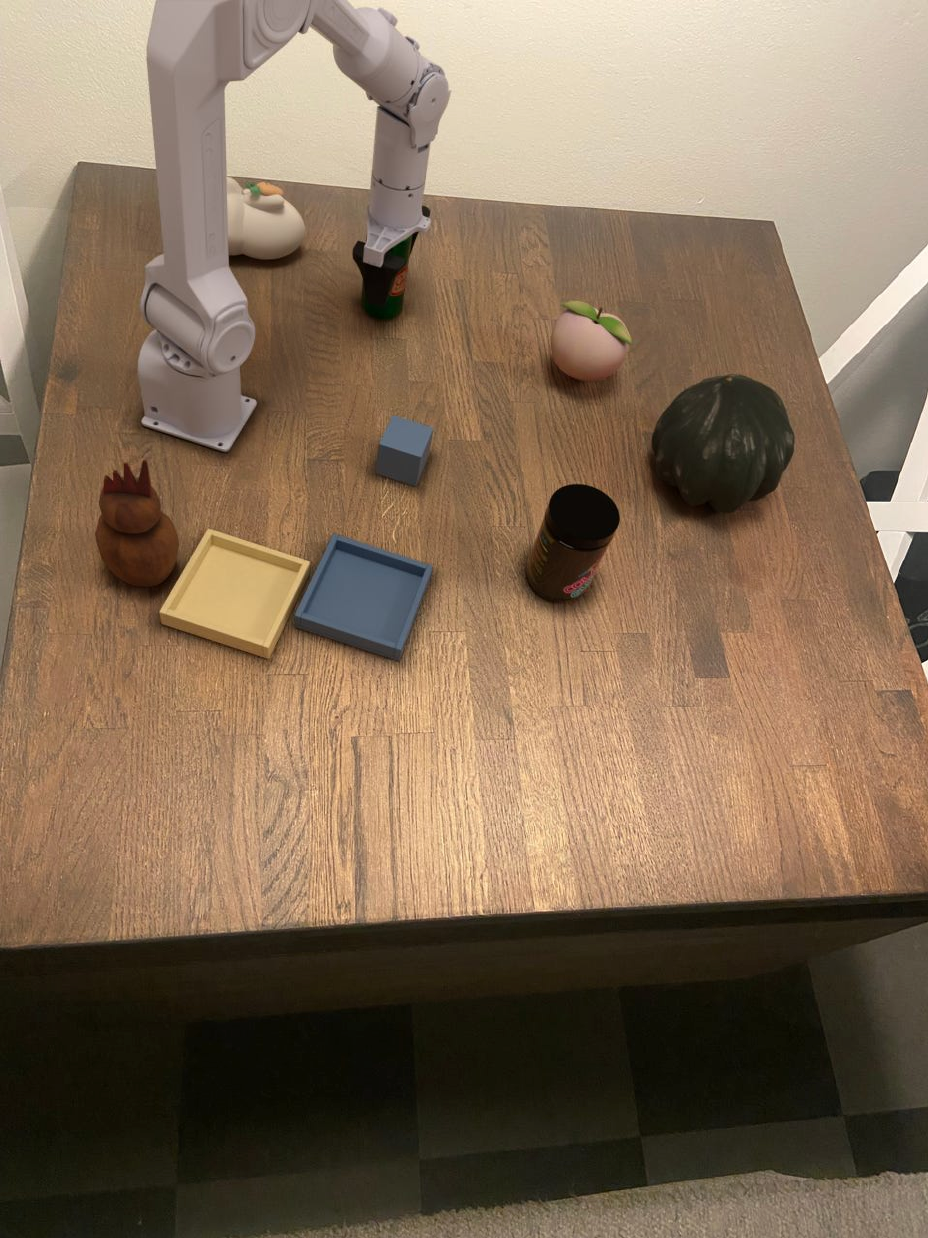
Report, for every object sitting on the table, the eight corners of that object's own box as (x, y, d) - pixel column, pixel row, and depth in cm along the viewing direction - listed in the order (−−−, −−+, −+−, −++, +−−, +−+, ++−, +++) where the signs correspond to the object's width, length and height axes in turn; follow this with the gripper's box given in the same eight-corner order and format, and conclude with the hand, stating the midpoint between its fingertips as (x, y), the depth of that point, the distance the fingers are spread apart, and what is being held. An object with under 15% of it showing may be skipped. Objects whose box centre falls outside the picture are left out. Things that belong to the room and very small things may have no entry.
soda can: (396, 327, 109) (407, 238, 99) (355, 316, 109) (362, 226, 99) (406, 302, 112) (418, 212, 102) (366, 291, 112) (374, 200, 102)
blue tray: (293, 627, 84) (294, 615, 83) (332, 545, 90) (333, 533, 88) (399, 661, 84) (401, 650, 82) (430, 577, 90) (433, 565, 88)
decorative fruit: (529, 383, 107) (549, 314, 99) (551, 343, 112) (572, 274, 104) (603, 413, 107) (630, 346, 98) (622, 372, 111) (649, 304, 103)
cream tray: (161, 624, 82) (158, 611, 80) (209, 540, 88) (208, 527, 86) (268, 659, 82) (268, 647, 80) (309, 573, 88) (310, 561, 86)
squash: (830, 467, 100) (801, 336, 93) (758, 540, 93) (720, 405, 86) (721, 467, 111) (687, 350, 104) (648, 532, 104) (607, 411, 97)
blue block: (375, 473, 96) (378, 443, 92) (388, 444, 98) (392, 414, 95) (415, 486, 96) (421, 457, 92) (428, 457, 98) (433, 427, 95)
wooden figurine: (193, 560, 86) (177, 449, 74) (162, 606, 83) (140, 498, 71) (127, 534, 87) (101, 420, 74) (94, 579, 83) (60, 468, 71)
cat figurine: (312, 179, 106) (178, 150, 102) (307, 247, 106) (171, 221, 102) (304, 216, 116) (180, 191, 112) (298, 278, 115) (174, 255, 111)
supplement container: (547, 614, 90) (575, 550, 81) (511, 563, 92) (534, 496, 84) (601, 591, 92) (634, 526, 84) (565, 542, 95) (593, 475, 86)
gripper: (414, 222, 92) (400, 331, 103) (453, 152, 100) (436, 259, 111) (347, 201, 92) (340, 312, 103) (392, 132, 100) (381, 242, 111)
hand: (386, 283), depth 107 cm, fingers open, 7 cm apart
